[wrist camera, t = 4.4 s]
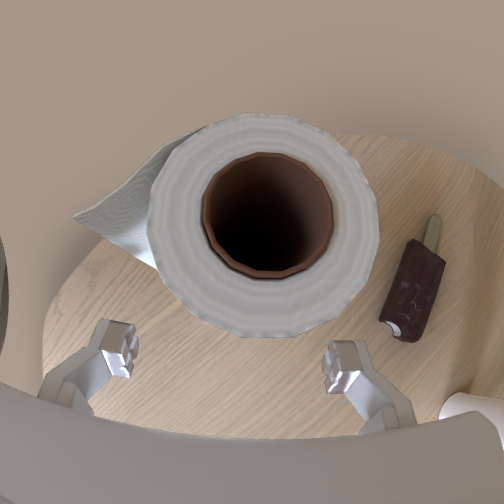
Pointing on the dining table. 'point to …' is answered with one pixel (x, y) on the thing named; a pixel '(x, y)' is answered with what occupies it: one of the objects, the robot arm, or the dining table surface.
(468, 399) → the drinking glass
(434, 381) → the dining table surface
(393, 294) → the ice cream bar
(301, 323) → the paper towel roll
